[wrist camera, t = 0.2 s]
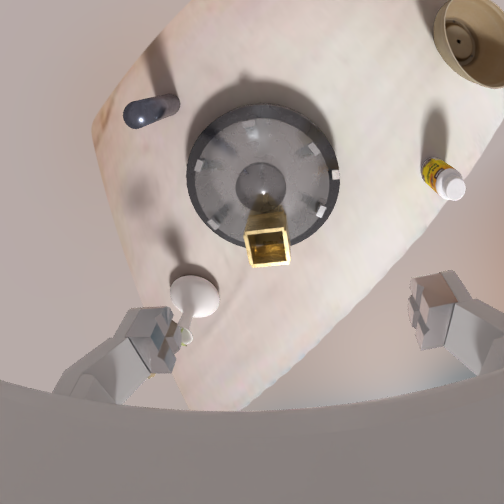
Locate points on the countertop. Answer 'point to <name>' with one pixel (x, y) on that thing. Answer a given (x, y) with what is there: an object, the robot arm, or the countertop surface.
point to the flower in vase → (192, 302)
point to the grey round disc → (262, 186)
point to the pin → (150, 110)
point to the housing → (273, 113)
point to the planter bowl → (472, 40)
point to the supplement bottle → (443, 179)
